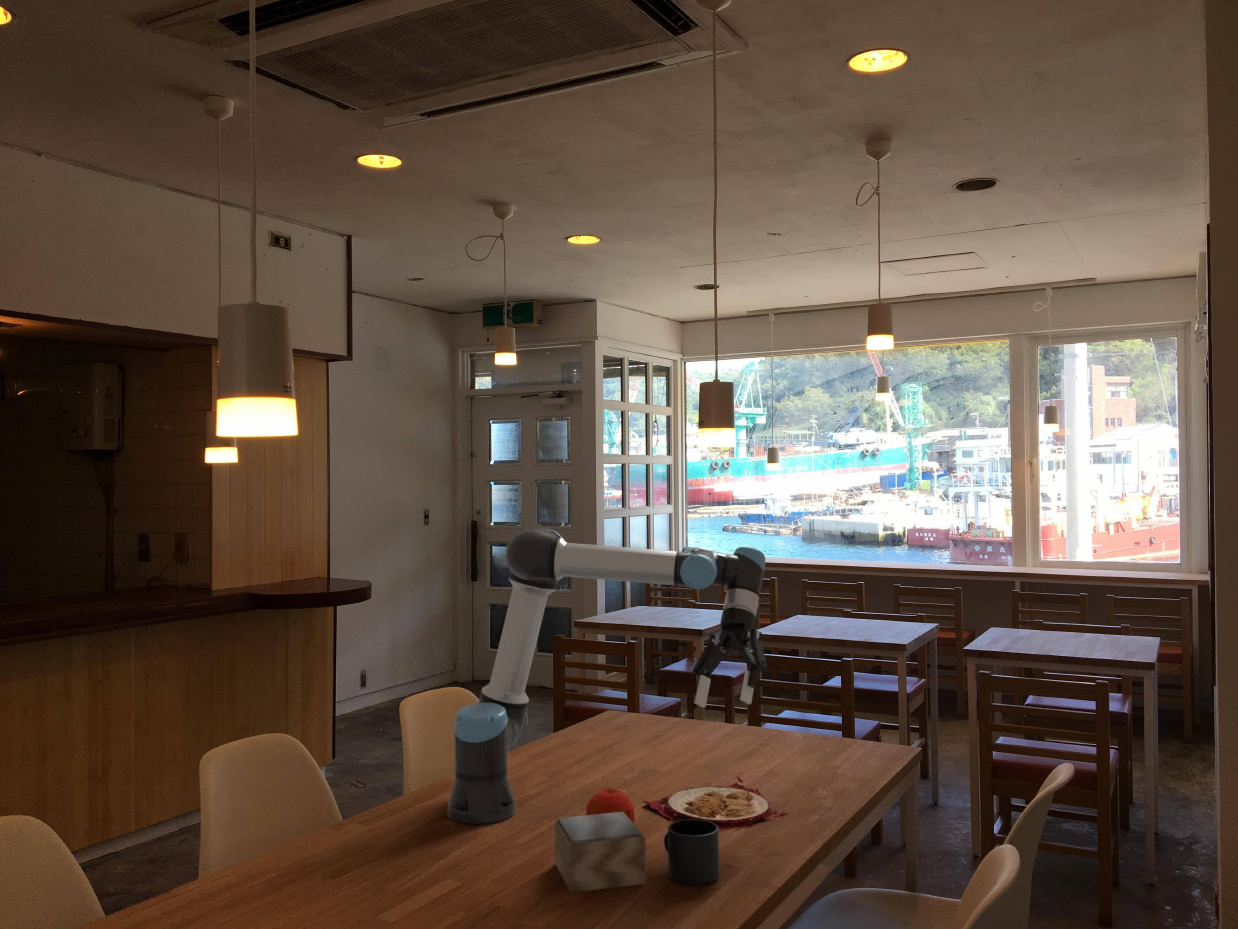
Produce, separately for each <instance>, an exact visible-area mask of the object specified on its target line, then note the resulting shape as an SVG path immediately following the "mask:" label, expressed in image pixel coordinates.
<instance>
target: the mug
mask: <svg viewBox="0 0 1238 929" xmlns="http://www.w3.org/2000/svg"><path fill="white" fill-rule="evenodd" d="M718 828H719V827H718V826H717V825H716V824H714V823H712V822H709V821H705V820H697V819H688V820H680V821H678V820H675V821H673V822H671V823H669V825H668V827H667V833H666V834H665V836H664V838H663V844H664V849H665V851H666V852H667V858H668V860H667V861H668V862H667V863H668V866H667V867H668V871H667V872H668V873H667V874H668V876H669V879H670V880H671V881H674V882H675V883H677V884H680V885H685V886H704V885H708V884H712V883H714V882H715V881H717V880H718V879H719V876H720V850H719V848H720V845H719V844H720V843H719V841H720V840H719V833H720V832H719V831H718Z"/></svg>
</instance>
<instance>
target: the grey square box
mask: <svg viewBox="0 0 1238 929" xmlns="http://www.w3.org/2000/svg"><path fill="white" fill-rule="evenodd" d="M634 823H635V822H634ZM634 823H633V822H632V821H631V820H630V819H629V818H628V816H627V815H626V814H625V813H624V812H615V813H605V814H595V815H586V814H585V815H578V816H577V815H576V816H566V817H558V818H557V819H555V821H554V825H555V826H554V830H555V831H554V841H555V842H554V844H555V847H554V848H555V850H554V851H555V852H554V853H555V854H554V855H555V858H554V859H555V867H556V868H557V870H558V871H559V874H560V876H561V878H562V879H563V881H564V883H565V885H566V886H567V889H568V891H569V892H570V893H579V892H588V891H596V890H597V891H598V890H604V889H615V888H621V887H627V886H628V887H630V886H638V885H639V886H640V885H646V836H644V835H645V834H643V833H642V832H641V830H639V828H638V827H637V826H636V824H634Z"/></svg>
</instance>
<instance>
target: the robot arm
mask: <svg viewBox="0 0 1238 929" xmlns="http://www.w3.org/2000/svg"><path fill="white" fill-rule="evenodd" d="M505 561H506V564H507V566H508V569H509V570H510V571H509V575H508V581H510V583H511V585H512V590H511V595H510V598H509V602H508V606H507V607H508V608H507V610H506V614H505V618H504V624H503V628H502V632H501V636H500V639H499V640H500V641H499V644H498V648H497V653H496V657H495V661H494V664H493V667H492V668H493V669H492V673H491V676H490V681H489V683H488V684H486V685H485V686H483V687H482V688H481V692H480V695H479V700H478V702H477V703H471V705H466V706H464V707H461V708H460V709H459V710H458V711H457V712H456V714H455V718H454V724H453V731H454V773H455V774H454V776H455V777H454V783H453V786H452V790H451V792H450V796H449V799H448V802H447V817H448V818H449V819H450V820H451V821H453V822H458V823H463V824H474V825H476V824H489V823H495V822H500V821H504V820H507V819H509V818H510V817H511V818H512V816H514V815H515V814H516V799H515V797H514V794H513V790H512V787H511V784H510V781H509V778H508V750H510V748H512V747H513V746H514V745H516V744H517V743H518V742H519V741H520V740H521V739H522V737H523V735H524V734H525V732H526V730H527V725H528V712H527V710H528V706H529V702H530V698H529V696H528V695H527V694H526V688H527V683H528V679H529V675H530V670H531V666H532V662H533V659H534V655H535V651H536V646H537V642H538V637H539V633H540V629H541V627H542V626H541V625H542V622H543V618H544V615H545V614H544V613H545V609H546V604H547V601H548V597H549V595H551V594H552V593H553V592H555V591H556V590H557V586H558V583H559V581H560V580H561V579H562V578H564V577H568V578H581V579H591V580H592V579H594V580H605V581H606V580H607V581H616V582H617V581H619V582H629V583H630V582H631V583H640V584H641V583H643V584H644V583H645V584H652V585H653V584H654V585H655V584H656V585H668V586H669V585H670V586H678V587H689V588H690V589H695V590H703V589H706V588H708V587H709V586H711V585H714V586H715V585H716V586H721V587H727V588H726V594H725V597H724V601H723V607H722V608H723V611H722V613H721V617H720V623H719V625H720V627H721V632H720V634H719V635H716V634H714V633H711V634H710V635H709V638H708V640H707V643H706V645H705V647H704V649H703V651H702V653H701V655H700V657H699V658H698V659H697V662H696V664H695V665H694V667H693V669H692V673H693V674H694V675H696V676H697V682H696V687H695V689H696V694H695V699H694V704H695V705H696V706H699V707H701V708H706V706H707V700H708V695H709V692H710V691H709V690H710V686H711V680H712V679H711V678H710V676H711V675H712V674H713V673H714V671H715V669H716V668H718V666H719V665H720V664H721V662H722V661H723V660H724V658H727V657H728V656H729V655H732V654H740V655H741V657H742V658H743V660H744V662H745V664H746V666H747V667H746V669H747V670H744V676H743V681H742V685H741V691H740V692H741V693H740V697H739V700H740V701H741V702H743V703H745V704H747V705H752V701H753V696H754V695H753V694H754V689H755V688H756V687H757V685H758V684H757V683H758V678H759V674H760V673H761V672H762V671H767V669H768V665H767V664H768V663H767V659H766V656H765V652H764V648H763V647H764V646H763V643H762V636H763V635H762V634H763V632H761V631H760V630H758V629H757V628H755V623H756V615H757V611H758V605H759V600H760V595H761V589H762V586H763V579H764V574H765V567H766V556H765V554H764V553H763V551H761V550H759V549H758V548H756V547H752V546H739V547H737V548H736V549H735V550H734V552H733V554H731V553H729V554H728V553H722V552H717V551H713V550H709V549H703V548H700V547H698V546H697V547H694V546H693V547H692V546H684V547H682V549H681V551H676V550H665V549H663V550H662V549H652V548H650V549H649V548H638V547H626V546H625V547H624V546H612V545H603V544H602V545H601V544H590V543H589V544H587V543H574V542H567V541H566V540H565V539H564V537H563V536H562V535H560V534H559V533H558V532H557V531H555V530H553V529H550V528H547V527H546V528H545V527H535V528H532V529H525V530H523V531H519V532H518V533H516V534H515V535H514V536H513V537H512V538H511V539H510V540H509V542H508V544H507V547H506V550H505ZM749 642H750V646H749Z"/></svg>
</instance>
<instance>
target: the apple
mask: <svg viewBox="0 0 1238 929" xmlns="http://www.w3.org/2000/svg"><path fill="white" fill-rule="evenodd" d="M615 812H624V813H625V814H626V815H627V816H628V818H629V819H630V820H631V821H632V822H633V823H635V821H636V815H635V808H634V803H633V802H632V800H631V799H630V798H629V796H628V795H627V794H625V793H624V792H623V791H622V790H620V789H616V788H610V787H609V788H603V789H600V790H598V791H597V792H596V793H594V794H593V795H592V796H591V797H590V799H589V800H588V802H587V804H586V812H585V813H586V814H585V815H595V814H605V813H615Z"/></svg>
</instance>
